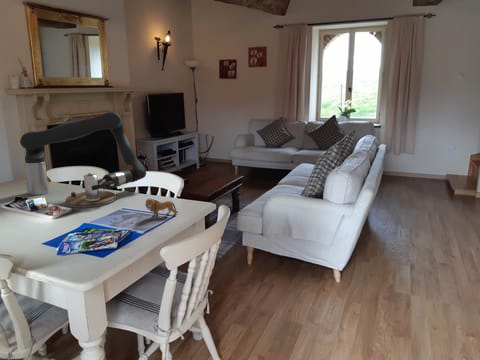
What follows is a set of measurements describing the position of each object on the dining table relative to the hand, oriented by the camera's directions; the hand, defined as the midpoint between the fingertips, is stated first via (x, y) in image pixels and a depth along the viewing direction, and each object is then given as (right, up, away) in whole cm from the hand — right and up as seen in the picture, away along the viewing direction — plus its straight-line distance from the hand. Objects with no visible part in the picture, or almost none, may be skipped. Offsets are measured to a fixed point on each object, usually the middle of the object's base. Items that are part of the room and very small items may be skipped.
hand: (87, 187), depth 176 cm
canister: (+1, -6, +4) cm, 7 cm away
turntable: (-2, -6, +10) cm, 12 cm away
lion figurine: (+38, -13, -12) cm, 42 cm away
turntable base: (-2, -7, +10) cm, 13 cm away
